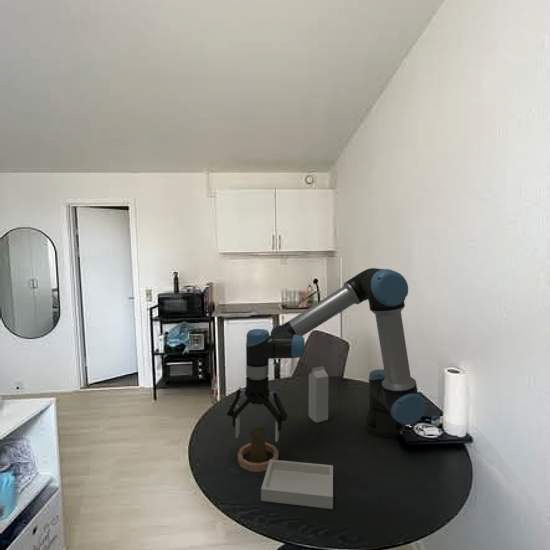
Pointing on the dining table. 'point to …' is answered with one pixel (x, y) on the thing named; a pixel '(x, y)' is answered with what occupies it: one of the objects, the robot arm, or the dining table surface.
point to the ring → (256, 466)
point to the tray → (298, 484)
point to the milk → (318, 394)
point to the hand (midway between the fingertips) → (257, 437)
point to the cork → (258, 445)
